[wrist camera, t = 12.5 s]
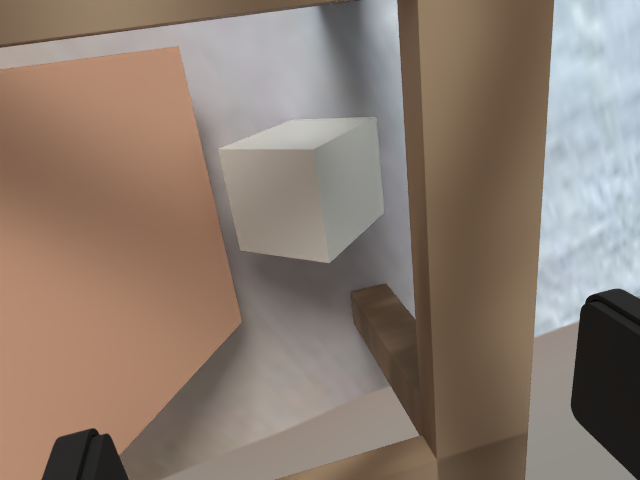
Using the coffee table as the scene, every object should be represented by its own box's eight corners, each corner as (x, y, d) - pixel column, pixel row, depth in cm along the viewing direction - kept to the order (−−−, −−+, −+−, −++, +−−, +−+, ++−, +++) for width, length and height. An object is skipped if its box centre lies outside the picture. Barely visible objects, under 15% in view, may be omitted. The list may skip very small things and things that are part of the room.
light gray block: (217, 149, 21) (291, 119, 26) (240, 250, 23) (305, 206, 28) (313, 149, 19) (376, 116, 23) (329, 263, 21) (384, 212, 25)
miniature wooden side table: (356, -70, 23) (567, -222, 10) (388, 314, 32) (523, 499, 19) (-246, -6, 19) (-1236, -128, 6) (-17, 417, 28) (-206, 748, 15)
